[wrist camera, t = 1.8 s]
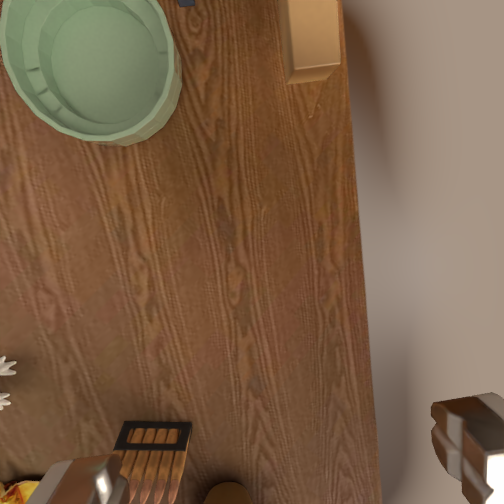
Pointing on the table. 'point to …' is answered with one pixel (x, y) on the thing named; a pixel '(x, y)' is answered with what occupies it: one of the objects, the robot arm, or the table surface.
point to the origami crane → (17, 492)
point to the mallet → (309, 39)
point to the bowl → (93, 66)
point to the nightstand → (186, 3)
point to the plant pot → (228, 494)
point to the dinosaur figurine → (3, 369)
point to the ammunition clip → (153, 455)
